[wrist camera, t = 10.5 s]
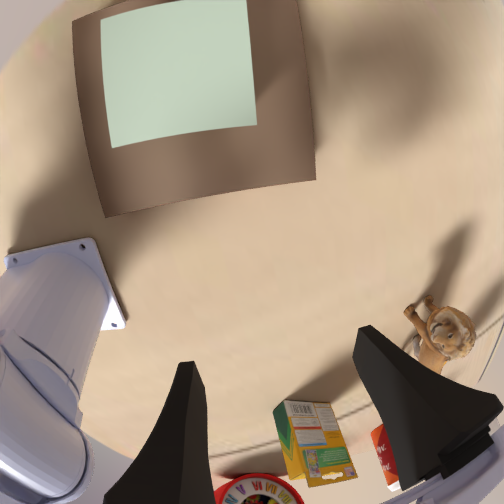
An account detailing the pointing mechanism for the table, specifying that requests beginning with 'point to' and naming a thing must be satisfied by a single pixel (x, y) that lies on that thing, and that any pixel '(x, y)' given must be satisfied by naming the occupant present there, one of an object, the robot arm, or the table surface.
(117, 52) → the sage cube
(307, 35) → the table surface
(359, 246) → the table surface
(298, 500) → the toy clock
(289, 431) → the crayon box
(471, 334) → the tan animal figurine
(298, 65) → the walnut block
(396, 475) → the paper cup
